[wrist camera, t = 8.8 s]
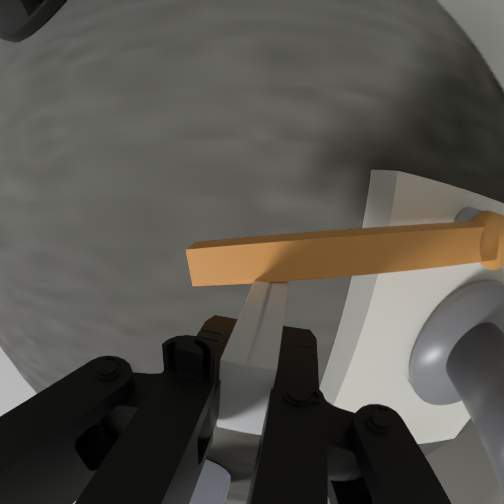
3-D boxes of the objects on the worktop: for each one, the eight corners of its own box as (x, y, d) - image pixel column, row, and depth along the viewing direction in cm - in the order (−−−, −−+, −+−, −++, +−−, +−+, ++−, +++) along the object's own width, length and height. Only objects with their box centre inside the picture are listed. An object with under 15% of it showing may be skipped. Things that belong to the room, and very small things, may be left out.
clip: (503, 209, 10) (516, 214, 9) (499, 259, 10) (511, 267, 9) (193, 231, 12) (183, 237, 11) (203, 286, 13) (195, 297, 12)
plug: (420, 235, 17) (608, 395, 1) (495, 274, 17) (625, 392, 1) (367, 342, 20) (418, 554, 4) (445, 362, 20) (516, 512, 3)
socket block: (371, 169, 17) (408, 171, 10) (515, 211, 15) (565, 229, 9) (313, 404, 23) (313, 460, 16) (439, 404, 21) (458, 448, 15)
